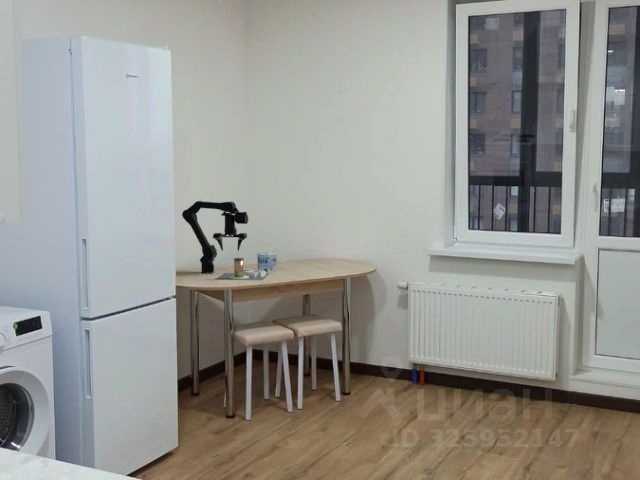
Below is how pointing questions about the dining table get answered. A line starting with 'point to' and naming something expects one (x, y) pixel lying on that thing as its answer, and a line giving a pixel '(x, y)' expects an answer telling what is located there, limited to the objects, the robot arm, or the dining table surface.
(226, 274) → the charcoal mat
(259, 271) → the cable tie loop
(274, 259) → the light bulb box
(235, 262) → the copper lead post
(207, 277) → the dining table surface
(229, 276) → the sage pad
